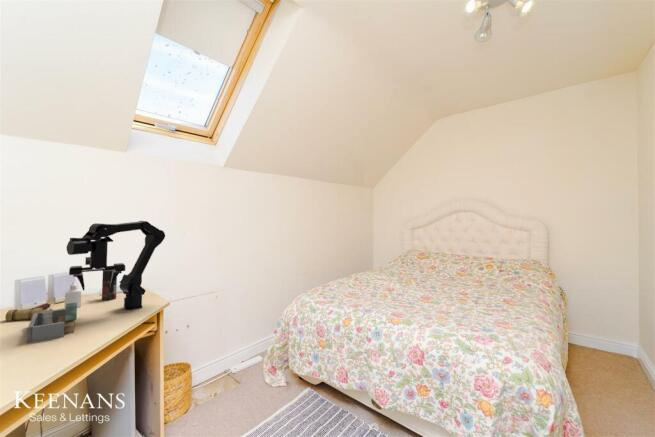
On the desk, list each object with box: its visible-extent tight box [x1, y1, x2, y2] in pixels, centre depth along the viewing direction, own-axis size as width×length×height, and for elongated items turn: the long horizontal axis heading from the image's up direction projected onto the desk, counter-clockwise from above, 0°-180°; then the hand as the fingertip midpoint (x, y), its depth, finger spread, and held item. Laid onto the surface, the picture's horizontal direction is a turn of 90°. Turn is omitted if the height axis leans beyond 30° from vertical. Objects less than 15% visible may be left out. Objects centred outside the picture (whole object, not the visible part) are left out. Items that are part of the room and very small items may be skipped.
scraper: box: [58, 303, 78, 335], centre depth 112 cm, size 5×14×9 cm, turn 40°
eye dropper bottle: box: [64, 281, 82, 309], centre depth 135 cm, size 4×6×12 cm
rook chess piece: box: [42, 308, 54, 325], centre depth 108 cm, size 4×4×8 cm
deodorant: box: [101, 270, 118, 302], centre depth 150 cm, size 6×6×15 cm
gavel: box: [4, 302, 52, 322], centre depth 126 cm, size 21×5×10 cm
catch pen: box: [26, 308, 66, 344], centre depth 108 cm, size 9×19×5 cm, turn 41°
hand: (97, 288), depth 125 cm, fingers open, 9 cm apart
